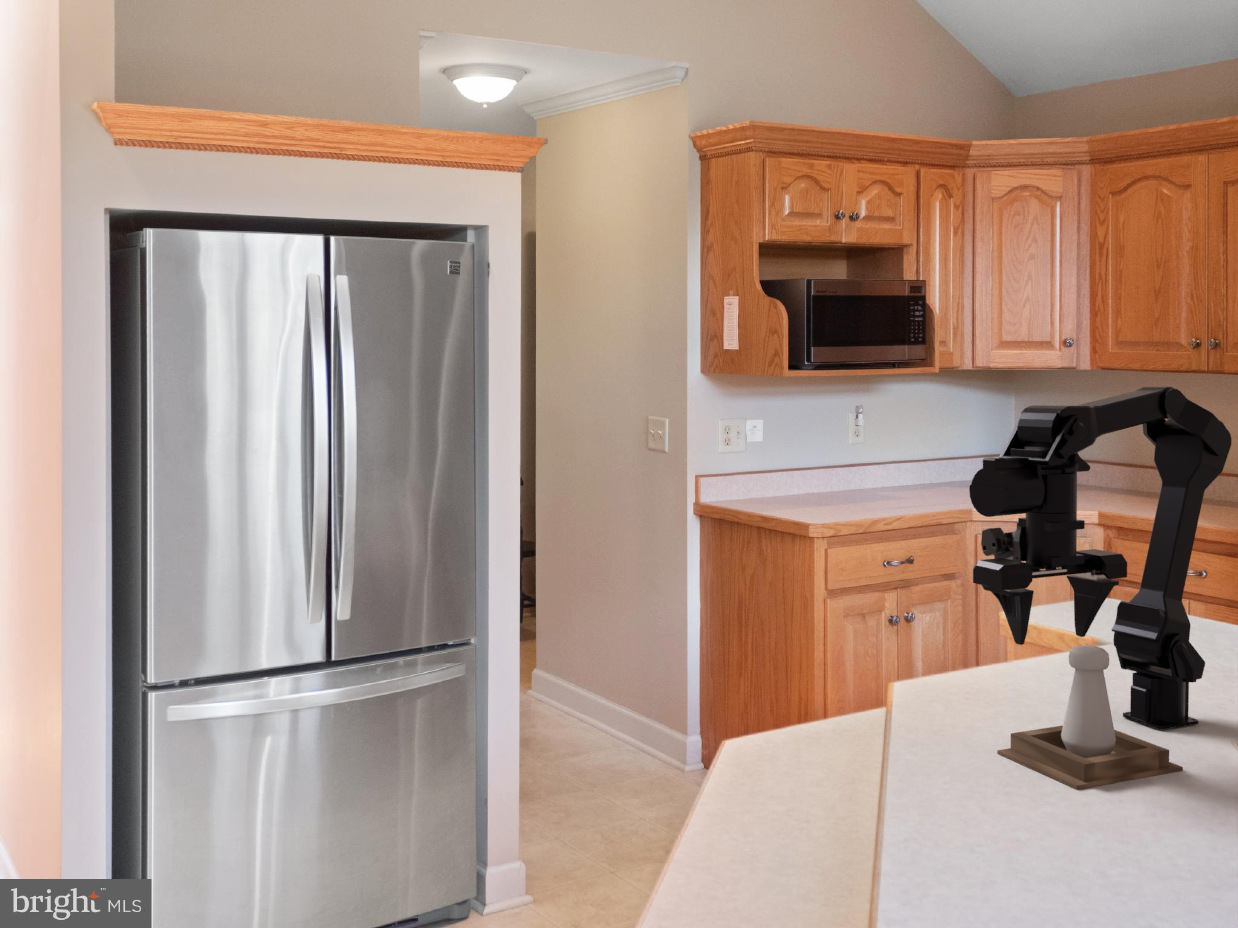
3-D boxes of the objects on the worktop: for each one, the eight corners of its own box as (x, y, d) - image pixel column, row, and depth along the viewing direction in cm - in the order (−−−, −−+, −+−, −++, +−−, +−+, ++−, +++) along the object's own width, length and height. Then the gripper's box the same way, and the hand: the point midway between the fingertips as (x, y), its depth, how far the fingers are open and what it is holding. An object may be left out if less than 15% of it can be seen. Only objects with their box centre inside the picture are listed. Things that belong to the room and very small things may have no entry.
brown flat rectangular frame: (1097, 737, 142) (1097, 718, 141) (1182, 770, 129) (1183, 749, 129) (997, 753, 136) (997, 733, 136) (1076, 789, 124) (1076, 767, 124)
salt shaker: (1120, 767, 130) (1121, 653, 129) (1066, 765, 131) (1067, 652, 130) (1108, 750, 135) (1109, 642, 134) (1057, 748, 136) (1057, 641, 135)
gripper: (1063, 500, 148) (1062, 620, 149) (943, 509, 141) (943, 634, 142) (1131, 508, 137) (1130, 637, 138) (1005, 518, 130) (1004, 654, 132)
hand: (1050, 640), depth 138 cm, fingers open, 9 cm apart
